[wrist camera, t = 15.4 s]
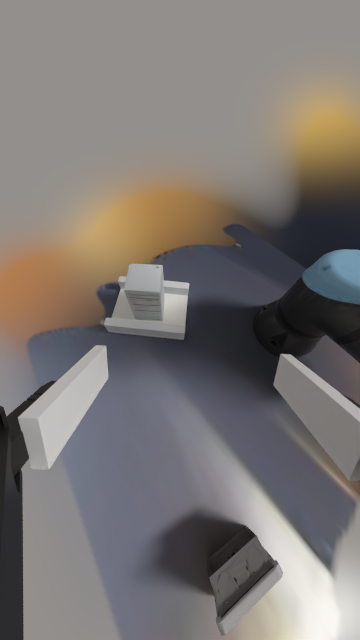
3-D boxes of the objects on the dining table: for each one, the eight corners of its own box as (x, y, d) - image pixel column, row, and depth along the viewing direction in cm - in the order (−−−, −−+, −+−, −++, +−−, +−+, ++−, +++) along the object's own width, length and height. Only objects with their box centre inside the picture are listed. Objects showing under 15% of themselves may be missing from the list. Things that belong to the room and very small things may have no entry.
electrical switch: (215, 597, 26) (231, 666, 18) (197, 549, 29) (204, 591, 21) (264, 551, 28) (296, 594, 21) (243, 510, 31) (265, 535, 23)
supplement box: (138, 296, 49) (128, 262, 38) (165, 298, 49) (163, 264, 38) (134, 320, 46) (122, 289, 34) (163, 321, 46) (160, 292, 35)
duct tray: (188, 292, 52) (189, 283, 48) (183, 339, 45) (184, 333, 41) (123, 285, 52) (119, 275, 48) (108, 332, 45) (103, 325, 41)
